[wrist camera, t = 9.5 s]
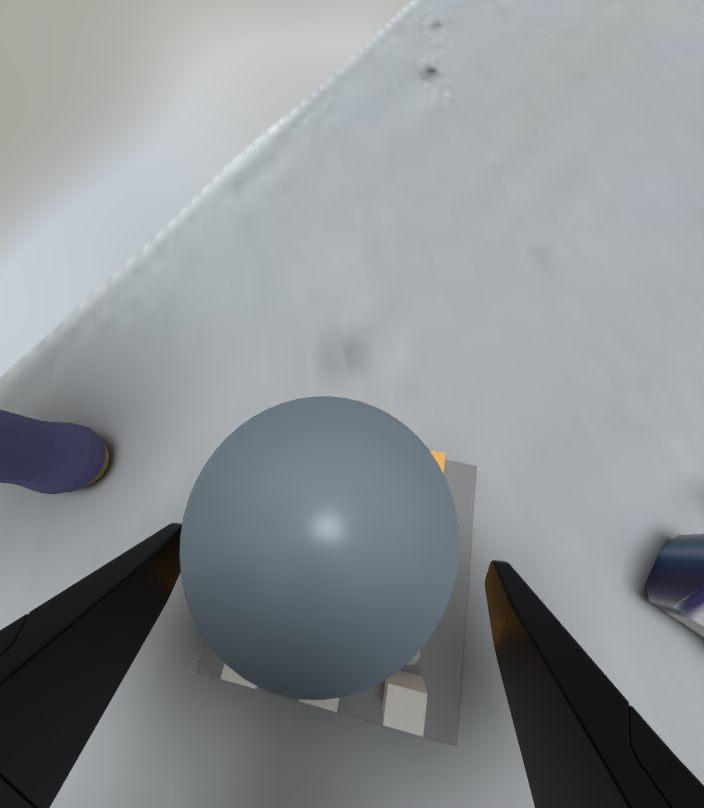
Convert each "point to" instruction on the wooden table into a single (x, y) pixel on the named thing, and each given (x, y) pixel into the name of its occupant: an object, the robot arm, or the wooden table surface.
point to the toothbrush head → (680, 581)
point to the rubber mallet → (49, 454)
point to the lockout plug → (319, 548)
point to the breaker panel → (430, 668)
